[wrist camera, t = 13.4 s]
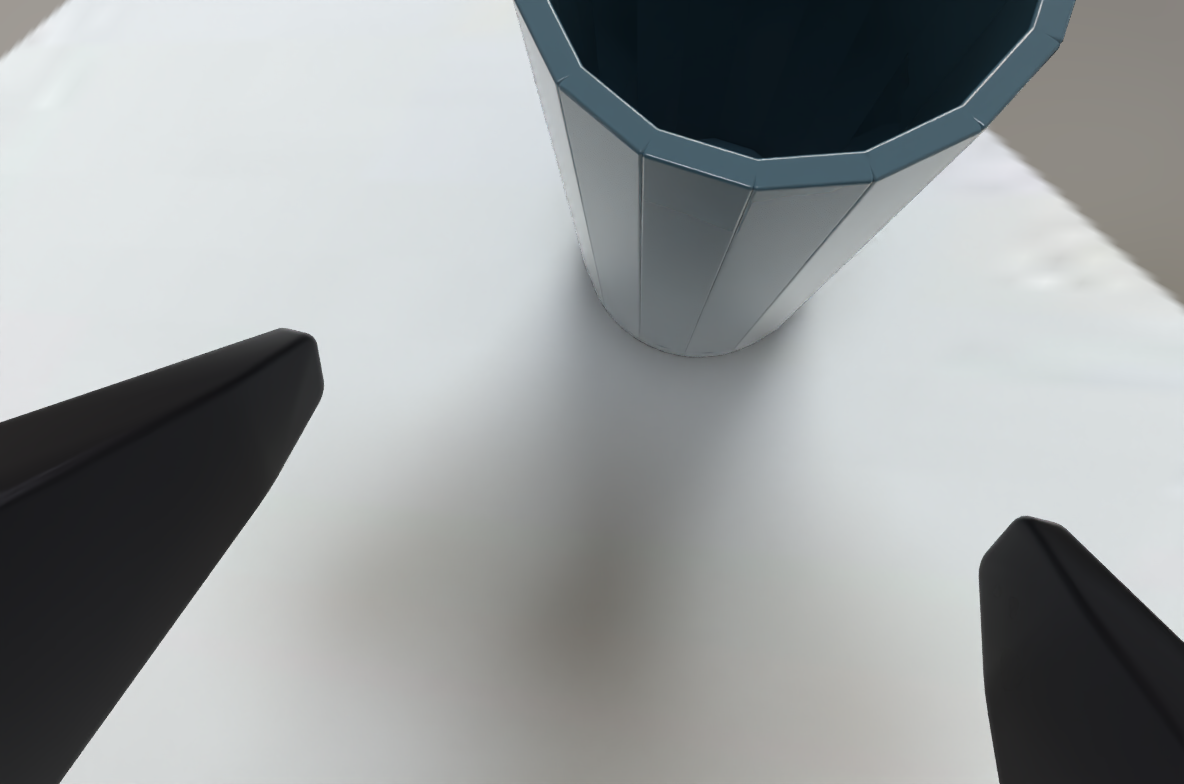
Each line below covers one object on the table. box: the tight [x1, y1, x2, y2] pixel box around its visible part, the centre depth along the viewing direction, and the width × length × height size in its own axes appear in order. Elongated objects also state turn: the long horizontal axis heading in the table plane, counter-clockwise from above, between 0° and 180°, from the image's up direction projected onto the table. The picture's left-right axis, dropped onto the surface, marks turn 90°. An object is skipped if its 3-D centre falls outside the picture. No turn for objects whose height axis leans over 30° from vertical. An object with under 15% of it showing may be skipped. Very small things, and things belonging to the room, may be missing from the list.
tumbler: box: [513, 0, 1076, 357], centre depth 14 cm, size 7×7×12 cm
